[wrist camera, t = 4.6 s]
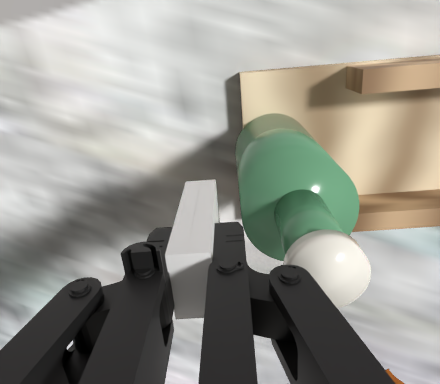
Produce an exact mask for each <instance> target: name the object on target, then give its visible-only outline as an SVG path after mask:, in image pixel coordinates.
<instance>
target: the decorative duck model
mask: <svg viewBox="0 0 440 384" xmlns="http://www.w3.org/2000/svg"><path fill="white" fill-rule="evenodd" d="M385 371H386V372H387V373H388V375H389V376H390V377H391V378H392V380H393V381H394V382H395V384H404V383H403V382H402V381H400V380H399V379H397V378H396V377H395V376H394V375H393V374H392V373H391V372H390V371H389V369H387V370H385Z"/></svg>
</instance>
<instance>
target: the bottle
mask: <svg viewBox="0 0 440 384" xmlns="http://www.w3.org/2000/svg"><path fill="white" fill-rule="evenodd" d="M235 157H236V167H237V176H238V186H239V196H240V205H241V215H242V223H243V227H244V230H245V232H246V234H247V237H248V238H249V240H250V241H251V242H252V244H253V245H254V246H255V247H256V248H257V249H258V250H260V251H261V252H262V253H264V254H266V255H267V256H269V257H272V258H274V259H277V260H281V261H284V263H283V265H289V264H290V265H297V266H300V267H302V268H304V269H306V270H307V271H308V272H309V273H310V274H311V276H312V277H313V278H314V279H315V281H316V282H317V283H318V285H319V286H320V287H321V288H322V290H323V291H324V292H325V294H326V295H327V296H328V297H329V299H330V300H331V301H332V303H333V304H334V305H335V306H336V308H337V309H338V308H341V307H344V306H346V305H348V304H350V303H352V302H353V301H355V300H356V299H357V298H358V297H360V296H361V295H362V293H363V292H364V291H365V290H366V288H367V286H368V284H369V281H370V278H371V266H370V263H369V261H368V259H367V257H366V256H365V254H364V252H363V251H362V249H361V248H360V246H359V245H358V244H357V242H356V241H355V240H354V239H353V238H352V237H350V236H349V235H350V234H351V232H352V230H353V229H354V227H355V224H356V222H357V219H358V214H359V196H358V192H357V189H356V187H355V185H354V183H353V181H352V180H351V178H350V177H349V176H348V175H347V174H346V173H345V172H344V170H343V169H342V168H341V167H340V166H339V165H338V164H337V163H336V162H335V161H334V160H333V159H332V157H331V156H330V155H329V154H328V153H327V152H326V151H325V150H324V149H323V148H322V147H321V146H320V145H319V143H318V142H317V141H316V140H315V139H314V138H313V137H312V136H311V135H310V134H309V133H308V132H307V130H306V129H305V128H304V127H303V126H302V125H301V124H300V123H299V122H298V121H296V120H295V119H293V118H292V117H290V116H287V115H284V114H277V113H271V114H265V115H262V116H259V117H257V118H255V119H254V120H252V121H251V122H249V123H248V124H247V125H246V126H245V127H244V128H243V130H242V131H241V133H240V134H239V136H238V139H237V142H236V147H235Z"/></svg>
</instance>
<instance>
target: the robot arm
mask: <svg viewBox="0 0 440 384" xmlns="http://www.w3.org/2000/svg"><path fill="white" fill-rule="evenodd" d="M121 257H122V261H123V266H124V270H125V276H124V278H123V280H122V281H120V282H117V283H114V284H110V285H107V286H103V287H102V286H101V282H100V281H99V280H98V279H95V278H92V277H91V278H81V279H77V280H75V281H73V282H71V283H69V284H67V285H66V286H65V287H64V288H62V289H61V290H60V291H59V292H58V293H57V294H56V295H55V296H54V297H53V298H52V299H51V300H50V301H49V302H48V303H47V304H46V305H45V306H44V307H43V308H42V309H41V310H40V311H39V312H38V313H37V314H36V315H35V316H34V317H33V318H32V319H31V320H30V321H29V322H28V323H27V324H26V325H25V326H24V327H23V328H22V329H21V330H20V331H19V332H18V333H17V334H16V335H15V336H14V337H13V338H12V339H11V340H10V341H9V342H8V343H7V344H6V345H5V346H4V347H3V348H2V349H1V350H0V384H164V383H165V378H166V372H167V366H168V361H169V355H170V349H171V344H172V338H173V332H174V326H173V320H172V316H173V311H174V312H175V317H176V319H188V318H204V325H203V337H202V349H201V361H200V373H199V384H258V383H257V372H256V361H255V349H254V338H253V335H258V336H262V337H266V338H271V341H272V345H273V347H274V349H275V351H276V353H277V356H278V358H279V360H280V362H281V364H282V366H283V368H284V371H285V373H286V375H287V377H288V379H289V381H290V384H395V382H394V381H393V380H392V378H391V377H390V376H389V375H388V373H387V372H386V371H385V369H384V368H383V367H382V366H381V364H380V363H379V362H378V360H377V359H376V358H375V357H374V355H373V354H372V353H371V351H370V350H369V349H368V348H367V346H366V345H365V344H364V342H363V341H362V340H361V339H360V337H359V336H358V335H357V333H356V332H355V331H354V330H353V328H352V327H351V326H350V324H349V323H348V322H347V321H346V319H345V318H344V317H343V315H342V314H341V313H340V312H339V310H338V309H337V308H336V306H335V305H334V304H333V303H332V301H331V300H330V299H329V297H328V296H327V295H326V294H325V292H324V291H323V290H322V288H321V287H320V286H319V285H318V283H317V282H316V281H315V279H314V278H313V277H312V276H311V274H310V273H309V272H308V271H307V270H306V269H304V268H302V267H300V266H297V265H290V264H289V265H281V266H278V267H275V268H274V269H273V270H272V271H271V272H270V274H263V273H259V272H257V271H254V270H253V269H251V268H250V267H249V266H248V265H247V262H246V252H245V241H244V230H243V227H242V226H241V225H240V223H239V222H227V223H220V220H219V210H218V199H217V189H216V179H214V180H200V181H186V183H185V186H184V190H183V193H182V197H181V200H180V204H179V207H178V211H177V214H176V218H175V221H174V225H173V227H164V228H156V229H155V230H154V231H153V232H151V233H150V234H149V236H148V239H147V242H140V243H135V244H133V245H130V246H128V247H127V248H125V249H124V250H123V251H122V252H121ZM72 340H73V345H72V346H71V347H70V348H69V349H68V350H67V349H66V348H67V346H68V345H69V344H70V342H71V341H72Z"/></svg>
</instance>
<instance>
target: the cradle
mask: <svg viewBox="0 0 440 384" xmlns="http://www.w3.org/2000/svg"><path fill="white" fill-rule="evenodd" d="M240 89H241V107H242V124H243V128H244V127H245V126H246V125H247V124H248V123H249V122H251V121H252V120H254V119H255V118H257V117H259V116H262V115H265V114H271V113H277V114H284V115H287V116H290V117H292V118H293V119H295V120H296V121H298V122H299V123H300V124H301V125H302V126H303V127H304V128H305V129H306V130H307V132H308V133H309V134H310V135H311V136H312V137H313V138H314V139H315V140H316V141H317V142H318V143H319V145H320V146H321V147H322V148H323V149H324V150H325V151H326V152H327V153H328V154H329V155H330V156H331V157H332V159H333V160H334V161H335V162H336V163H337V164H338V165H339V166H340V167H341V168H342V169H343V170H344V172H345V173H346V174H347V175H348V176H349V177H350V178H351V180H352V181H353V183H354V185H355V187H356V189H357V192H358V196H359V214H358V219H357V222H356V224H355V227H354V229H353V230H352V232H359V231H374V230H389V229H404V228H419V227H433V226H440V55H432V56H421V57H409V58H398V59H386V60H374V61H363V62H351V63H340V64H328V65H317V66H305V67H293V68H282V69H270V70H259V71H247V72H240Z"/></svg>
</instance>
